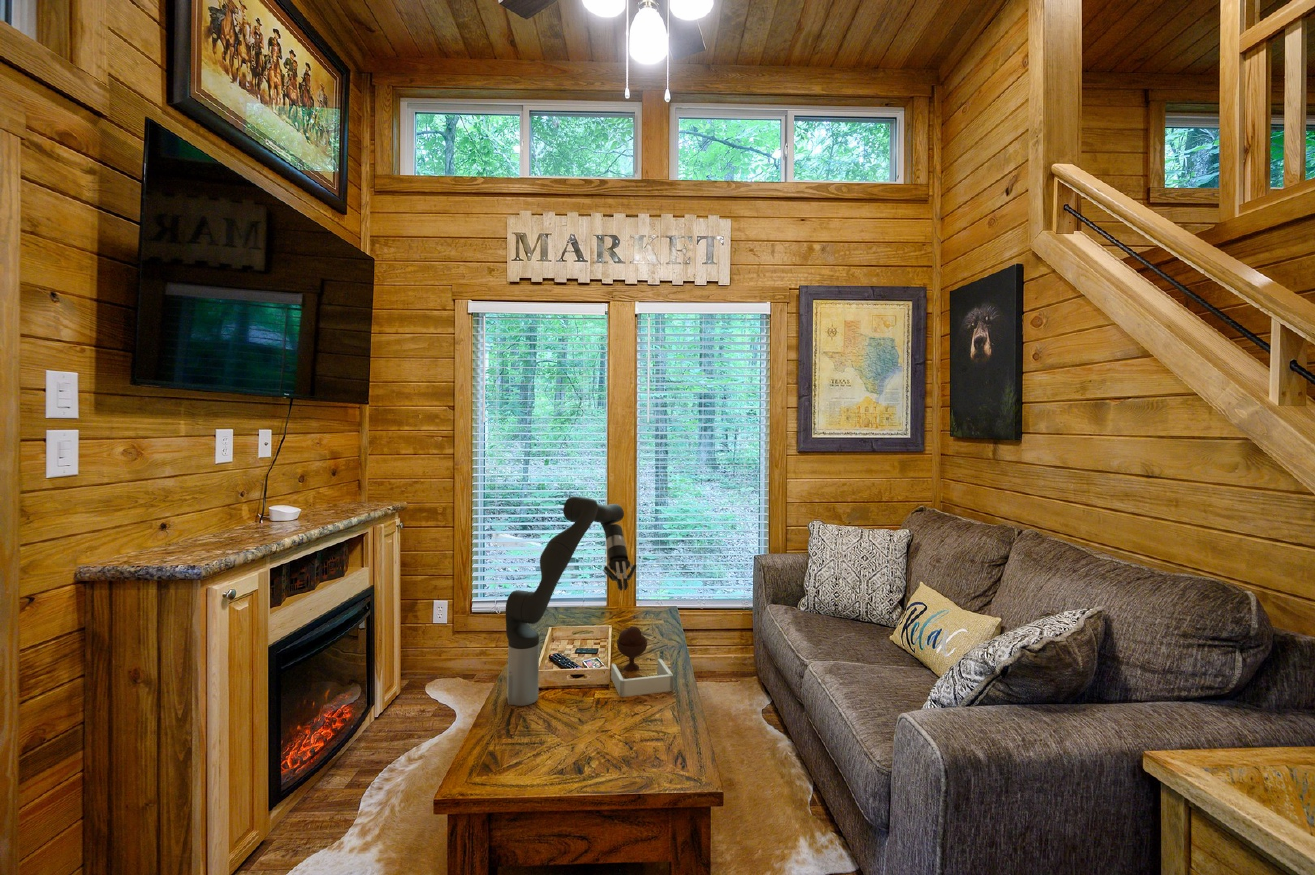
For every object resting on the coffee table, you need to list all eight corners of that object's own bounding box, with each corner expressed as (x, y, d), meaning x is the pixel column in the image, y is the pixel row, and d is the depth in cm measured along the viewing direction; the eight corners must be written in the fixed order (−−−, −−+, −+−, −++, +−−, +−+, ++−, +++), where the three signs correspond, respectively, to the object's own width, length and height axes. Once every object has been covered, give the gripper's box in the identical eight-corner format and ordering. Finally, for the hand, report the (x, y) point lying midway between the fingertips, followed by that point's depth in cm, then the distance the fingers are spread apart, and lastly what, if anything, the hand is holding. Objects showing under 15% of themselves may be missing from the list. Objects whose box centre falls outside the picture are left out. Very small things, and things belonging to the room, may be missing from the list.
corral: (620, 697, 183) (620, 681, 183) (611, 678, 196) (611, 664, 196) (673, 691, 188) (673, 675, 188) (660, 673, 201) (661, 658, 201)
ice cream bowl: (652, 666, 207) (653, 624, 206) (634, 677, 197) (635, 633, 197) (628, 659, 212) (629, 618, 212) (609, 670, 203) (610, 627, 203)
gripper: (601, 545, 224) (607, 585, 213) (635, 543, 228) (643, 583, 217) (598, 555, 230) (604, 595, 218) (631, 554, 234) (639, 593, 222)
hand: (623, 589), depth 218 cm, fingers closed
